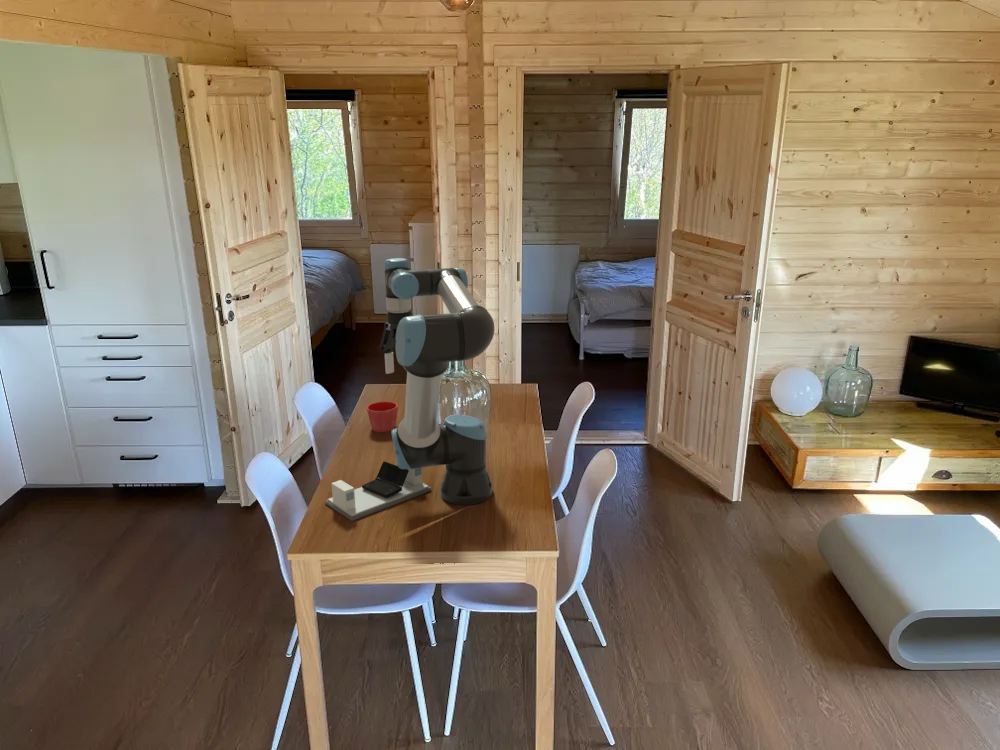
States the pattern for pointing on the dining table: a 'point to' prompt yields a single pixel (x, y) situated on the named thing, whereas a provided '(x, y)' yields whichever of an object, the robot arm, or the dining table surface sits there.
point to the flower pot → (382, 416)
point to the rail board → (373, 496)
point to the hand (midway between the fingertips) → (402, 377)
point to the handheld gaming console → (387, 480)
